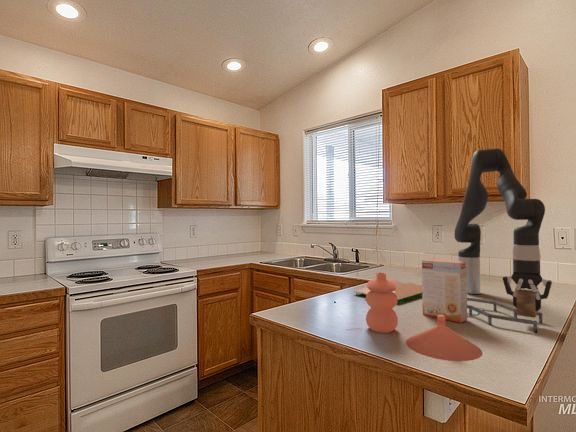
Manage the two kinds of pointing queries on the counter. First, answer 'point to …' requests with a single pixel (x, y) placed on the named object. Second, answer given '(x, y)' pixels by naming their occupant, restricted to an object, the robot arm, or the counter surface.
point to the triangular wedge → (400, 290)
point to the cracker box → (444, 289)
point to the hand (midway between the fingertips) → (527, 308)
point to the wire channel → (502, 316)
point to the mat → (474, 311)
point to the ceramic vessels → (429, 342)
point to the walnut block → (526, 303)
